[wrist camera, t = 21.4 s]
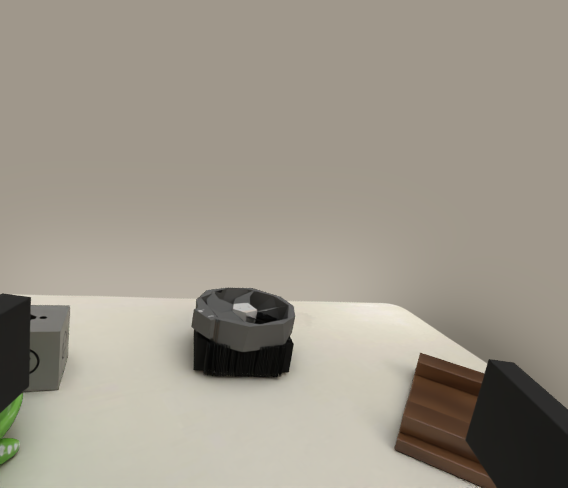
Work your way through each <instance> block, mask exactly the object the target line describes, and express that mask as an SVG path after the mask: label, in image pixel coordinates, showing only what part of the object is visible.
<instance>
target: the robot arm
mask: <svg viewBox="0 0 568 488" xmlns="http://www.w3.org/2000/svg"><path fill="white" fill-rule="evenodd" d="M30 314H31V297H25V296H17V295H10V294H0V413H1V412H2V411H3V410H4V409H6V408H7V407H8V406H9V405H10V404H11V403H12V402H13V401H14V400H15V399H16V398H17V397H18V396H19V395H20V394H22V393H23V392H24V391H25V390H26V389H27V388H28V387H29V370H30ZM465 441H466V442H467V444H468V445H469V447H470V448H471V450H472V451H473V453H474V454H475V456H476V457H477V459H478V460H479V462H480V463H481V465H482V466H483V468H484V469H485V471H486V472H487V474H488V475H489V477H490V478H491V480H492V481H493V483H494V484H495V486H496V487H497V488H568V409H566V408H565V407H564V406H563V405H562V404H561V403H560V402H558V401H557V400H556V399H555V398H554V397H553V396H552V395H550V394H549V393H548V392H547V391H546V390H545V389H544V388H542V387H541V386H540V385H539V384H538V383H537V382H535V381H534V380H533V379H532V378H531V377H530V376H529V375H527V374H526V373H525V372H524V371H523V370H522V369H521V368H519V367H518V366H517V365H516V364H515V363H512V362H505V361H498V360H490V359H489V361H488V364H487V367H486V371H485V374H484V378H483V381H482V384H481V388H480V391H479V395H478V398H477V401H476V405H475V408H474V412H473V415H472V419H471V422H470V425H469V429H468V432H467V436H466V439H465Z"/></svg>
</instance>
